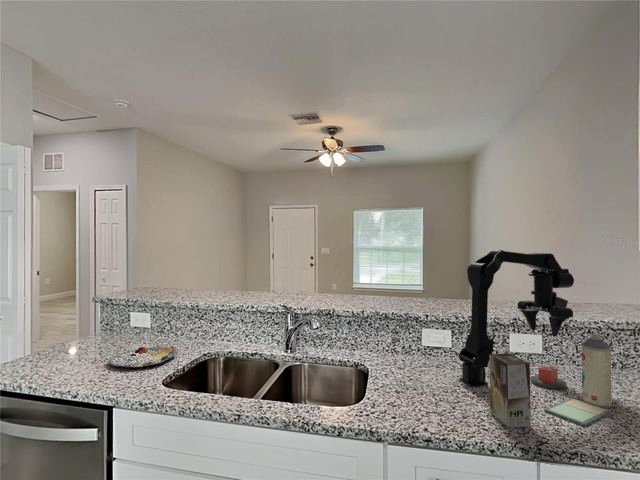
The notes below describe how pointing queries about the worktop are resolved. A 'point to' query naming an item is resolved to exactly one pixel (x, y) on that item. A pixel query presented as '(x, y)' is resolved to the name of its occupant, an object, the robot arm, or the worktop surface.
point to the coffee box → (510, 390)
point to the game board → (577, 411)
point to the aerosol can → (596, 372)
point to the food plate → (160, 355)
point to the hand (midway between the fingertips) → (544, 333)
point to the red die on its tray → (547, 385)
